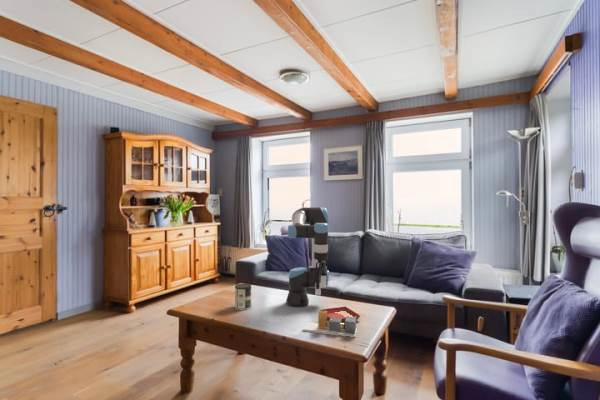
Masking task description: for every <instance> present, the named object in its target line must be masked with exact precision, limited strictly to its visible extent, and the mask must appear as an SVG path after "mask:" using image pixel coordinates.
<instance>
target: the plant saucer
mask: <svg viewBox="0 0 600 400" xmlns="http://www.w3.org/2000/svg"><path fill="white" fill-rule="evenodd" d="M321 310H322V311H327V320H328V321H329V320H330V318H331V317H333V318H342V323H345V320H346V317H344V316H343V315H341V314H338V313H335V312H340V311H346V312H347V313H349V314H350V315H352V316H353V317H356V321H357V320H359V318H361V315H360V314H359V313H357V312H355V311H354V310H352V309H350V308H349V307H347V306H338V307H332V308H331V307H330V308H325V309H324V308H322V309H321Z"/></svg>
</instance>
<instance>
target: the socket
mask: <svg viewBox="0 0 600 400" xmlns="http://www.w3.org/2000/svg"><path fill="white" fill-rule="evenodd" d="M344 323H345V333H347V334H355V332H356V328H357V320H356V317H349V316H347V317H346V320H345V322H344Z"/></svg>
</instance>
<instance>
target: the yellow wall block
mask: <svg viewBox="0 0 600 400" xmlns="http://www.w3.org/2000/svg"><path fill="white" fill-rule="evenodd" d="M317 313H318V316H317V317H318V321H317V322H318V328H323V329H326V328H329V320H328V318H327V311H322V309H320V310H319V311H318V312H317ZM340 329H342V330H345V322H342V323H341V324H340Z"/></svg>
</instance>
